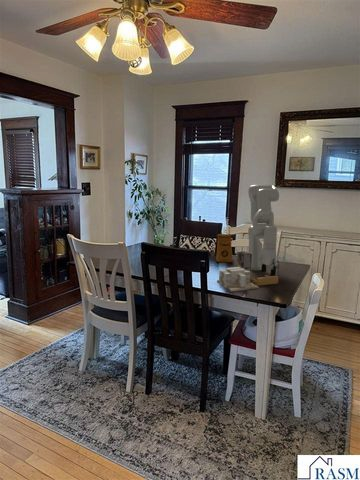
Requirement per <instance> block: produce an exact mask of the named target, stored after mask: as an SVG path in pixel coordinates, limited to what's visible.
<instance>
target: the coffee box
mask: <svg viewBox="0 0 360 480" xmlns="http://www.w3.org/2000/svg"><path fill="white" fill-rule="evenodd" d="M251 260H252V254H250V253H249V252H247V251H237V252H236V260H235V261H236V262H235V264H236V266H235V267H240V268H244V269H246V270H248V271H250V277H251V278H252V270H251Z"/></svg>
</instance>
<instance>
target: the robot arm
mask: <svg viewBox="0 0 360 480" xmlns="http://www.w3.org/2000/svg"><path fill="white" fill-rule="evenodd" d="M247 192H248V198H249V202H250V222H251V223H252V225H250V226H249V227H248V228H247V229H248V230H247V234H248V253H250V254H252V260H251V271H261V272H262V273H266V272H267V266H269V267H270V268H271V269H270V276H277V275H276V274H277V272H276V271H277V269H278V267H279V262H278V261H277V237H278V235H277V234H278V229H277V226H275V222H274V221H275V218H274V216H275V215H274V212H273V211H272V209H273V208H272V204H271V203H273V202H278V201H279V199H280V193H279V190H278V188H277V187H276V186H275V185H272V184H253V185H250V186H249V188H248V191H247ZM262 239H263V242H262V241H261V240H262Z"/></svg>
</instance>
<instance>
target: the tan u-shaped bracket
mask: <svg viewBox="0 0 360 480" xmlns="http://www.w3.org/2000/svg"><path fill="white" fill-rule="evenodd" d="M250 282H251V283H253V284H255V285H257V286H258V285H259V286H265V285H275V284H278V283H279V276H278V275H275V276H271V275H270V276H269V274H264V276H263V277H261V276H260V277H257V278H256V279H255V278H253V277H252V276H251V277H250Z"/></svg>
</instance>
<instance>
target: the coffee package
mask: <svg viewBox="0 0 360 480" xmlns="http://www.w3.org/2000/svg"><path fill="white" fill-rule="evenodd" d="M216 237H217V240H216V241H217V243H216V244H217V245H216V255H215V261H216V262H219V263H232V261H233V247H232V234H229V233H228V234H227V233H226V234H224V233H221V234H220V233H217V235H216Z"/></svg>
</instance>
